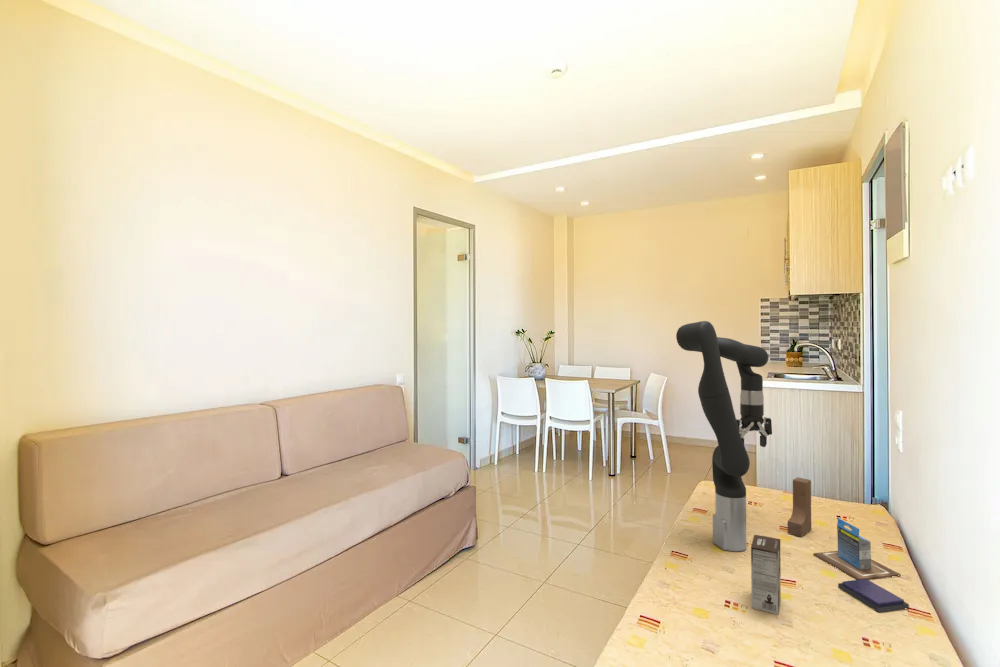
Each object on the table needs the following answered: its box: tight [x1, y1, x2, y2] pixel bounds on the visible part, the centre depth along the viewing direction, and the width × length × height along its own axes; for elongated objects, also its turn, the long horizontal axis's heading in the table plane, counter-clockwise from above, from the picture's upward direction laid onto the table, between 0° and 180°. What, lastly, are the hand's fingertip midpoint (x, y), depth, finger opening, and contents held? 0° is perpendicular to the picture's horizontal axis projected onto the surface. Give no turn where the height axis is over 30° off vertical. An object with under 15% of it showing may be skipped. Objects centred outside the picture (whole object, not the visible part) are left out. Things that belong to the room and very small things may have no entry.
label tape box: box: [836, 517, 872, 570], centre depth 147 cm, size 9×4×12 cm, turn 4°
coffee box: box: [750, 534, 782, 615], centre depth 128 cm, size 9×6×16 cm
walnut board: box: [813, 550, 901, 581], centre depth 147 cm, size 14×16×1 cm
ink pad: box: [837, 579, 910, 614], centre depth 130 cm, size 9×12×2 cm
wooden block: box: [787, 476, 812, 538], centre depth 171 cm, size 9×4×18 cm, turn 128°
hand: (752, 447), depth 177 cm, fingers open, 8 cm apart
